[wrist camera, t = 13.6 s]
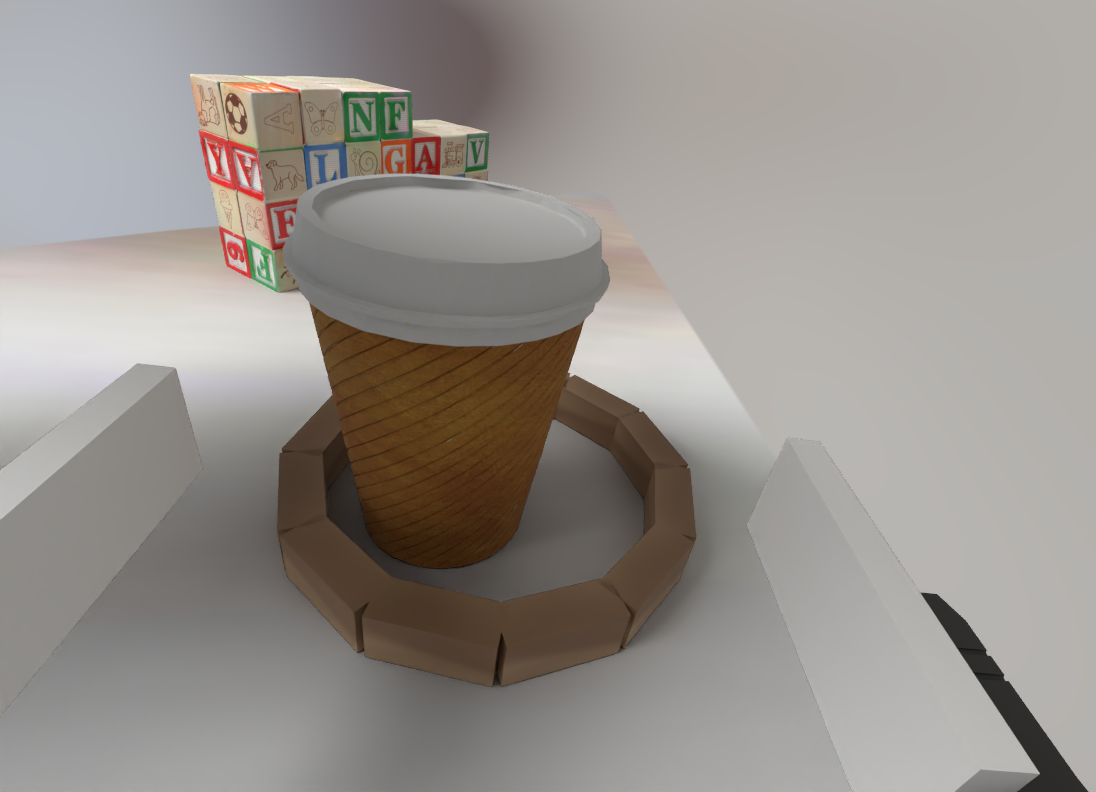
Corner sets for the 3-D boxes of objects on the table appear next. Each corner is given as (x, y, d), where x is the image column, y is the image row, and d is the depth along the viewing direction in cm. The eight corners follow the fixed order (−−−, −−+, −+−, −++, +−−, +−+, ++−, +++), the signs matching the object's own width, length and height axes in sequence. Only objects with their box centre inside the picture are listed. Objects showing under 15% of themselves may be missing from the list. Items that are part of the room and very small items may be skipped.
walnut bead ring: (204, 487, 22) (193, 447, 21) (489, 362, 33) (492, 332, 32) (498, 805, 14) (506, 768, 13) (741, 502, 25) (755, 469, 24)
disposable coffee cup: (580, 467, 26) (636, 206, 19) (521, 644, 18) (581, 304, 11) (393, 416, 27) (387, 157, 21) (262, 561, 19) (185, 214, 13)
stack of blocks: (436, 221, 55) (439, 80, 48) (485, 239, 52) (495, 92, 46) (223, 267, 39) (185, 69, 33) (277, 296, 37) (247, 86, 30)
